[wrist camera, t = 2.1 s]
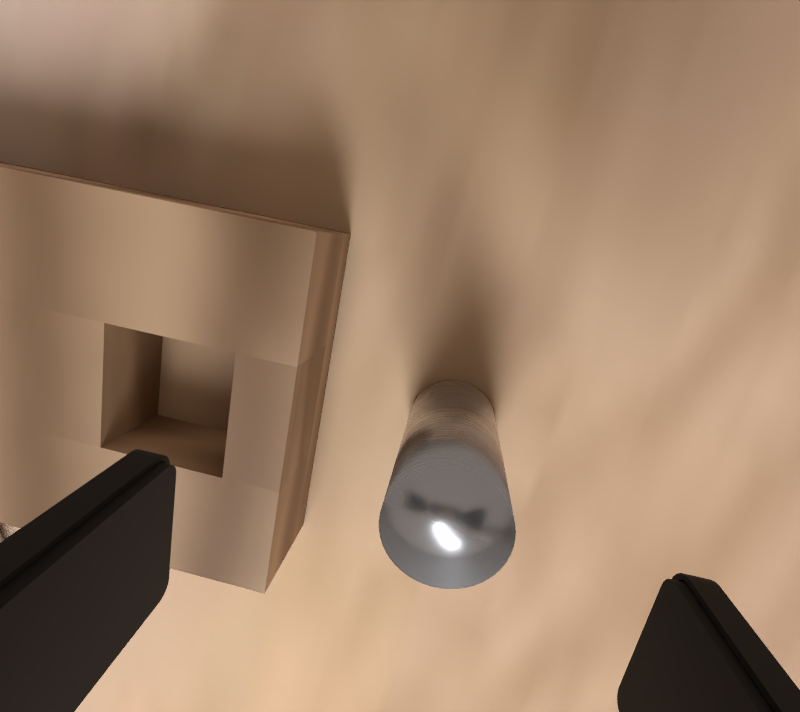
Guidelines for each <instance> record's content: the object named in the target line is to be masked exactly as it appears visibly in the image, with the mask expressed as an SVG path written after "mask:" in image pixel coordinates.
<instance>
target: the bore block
mask: <svg viewBox="0 0 800 712" xmlns="http://www.w3.org/2000/svg"><path fill="white" fill-rule="evenodd" d="M349 240H350V234H348V233H343V232H338V231H333V230H328V229H323V228H318V227H314V226H309V225H304V224H299V223H294V222H289V221H284V220H280V219H275V218H270V217H265V216H260V215H255V214H250V213H245V212H241V211H236V210H231V209H226V208H221V207H216V206H211V205H206V204H202V203H197V202H192V201H187V200H182V199H177V198H172V197H168V196H163V195H158V194H153V193H148V192H143V191H138V190H133V189H129V188H124V187H119V186H114V185H109V184H104V183H99V182H95V181H90V180H85V179H80V178H75V177H70V176H65V175H60V174H56V173H51V172H46V171H41V170H36V169H31V168H26V167H21V166H17V165H12V164H7V163H2V162H0V523H4V524H8V525H12V526H15V527H19V528H22V527H24V526H25V525H26V524H28V523H29V522H31V521H32V520H34V519H35V518H36V517H38V516H39V515H41V514H42V513H44V512H45V511H47V510H48V509H49V508H51V507H52V506H54V505H55V504H57V503H58V502H59V501H61V500H62V499H64V498H65V497H67V496H68V495H70V494H71V493H72V492H74V491H75V490H77V489H78V488H80V487H81V486H82V485H84V484H85V483H87V482H88V481H90V480H91V479H92V478H94V477H95V476H97V475H98V474H100V473H101V472H103V471H104V470H105V469H107V468H108V467H110V466H111V465H113V464H114V463H115V462H117V461H118V460H120V459H121V458H123V457H124V456H126V455H127V454H128V453H130V452H131V451H133V450H135V449H139V450H144V451H148V452H153V453H157V454H161V455H166V456H167V457H168V458H169V461H170V465H174V466H175V468H176V486H175V500H174V514H173V528H172V541H171V555H170V568H172V569H175V570H179V571H183V572H186V573H190V574H194V575H198V576H201V577H205V578H209V579H213V580H216V581H220V582H224V583H227V584H231V585H235V586H239V587H242V588H246V589H250V590H253V591H257V592H261V593H265V592H266V590H267V588H268V586H269V585H270V583H271V581H272V579H273V577H274V576H275V574H276V572H277V570H278V569H279V567H280V565H281V563H282V561H283V560H284V558H285V556H286V554H287V553H288V551H289V549H290V547H291V545H292V544H293V542H294V540H295V538H296V536H297V535H298V533H299V531H300V529H301V528H302V526H303V523H304V516H305V510H306V504H307V498H308V492H309V486H310V480H311V473H312V467H313V461H314V455H315V449H316V443H317V437H318V431H319V424H320V418H321V412H322V406H323V400H324V394H325V388H326V381H327V375H328V369H329V363H330V357H331V351H332V345H333V338H334V332H335V326H336V320H337V314H338V308H339V302H340V296H341V289H342V283H343V277H344V271H345V265H346V259H347V253H348V246H349Z"/></svg>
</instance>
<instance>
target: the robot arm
mask: <svg viewBox="0 0 800 712" xmlns="http://www.w3.org/2000/svg"><path fill="white" fill-rule="evenodd" d="M175 486H176V468H175V466H174V465H170V461H169V458H168V457H167V456H166V455H161V454H157V453H153V452H148V451H144V450H139V449H135V450H133V451H131V452H130V453H128V454H127V455H126V456H124V457H123V458H121V459H120V460H118V461H117V462H115V463H114V464H113V465H111V466H110V467H108V468H107V469H105V470H104V471H103V472H101V473H100V474H98V475H97V476H95V477H94V478H92V479H91V480H90V481H88V482H87V483H85V484H84V485H82V486H81V487H80V488H78V489H77V490H75V491H74V492H72V493H71V494H70V495H68V496H67V497H65V498H64V499H62V500H61V501H59V502H58V503H57V504H55V505H54V506H52V507H51V508H49V509H48V510H47V511H45V512H44V513H42V514H41V515H39V516H38V517H36V518H35V519H34V520H32V521H31V522H29V523H28V524H26V525H25V526H24V527H22V528H21V529H19V530H18V531H16V532H15V533H13V534H12V535H11V536H9V537H8V538H6V539H5V540H3V541H2V542H1V543H0V712H74V711H75V710H76V709H77V707H78V706H79V705H80V703H81V702H82V701H83V700H84V698H85V697H86V696H87V694H88V693H89V692H90V691H91V689H92V688H93V687H94V685H95V684H96V683H97V682H98V680H99V679H100V678H101V676H102V675H103V674H104V673H105V671H106V670H107V669H108V667H109V666H110V665H111V664H112V662H113V661H114V660H115V658H116V657H117V656H118V655H119V653H120V652H121V651H122V649H123V648H124V647H125V646H126V644H127V643H128V642H129V640H130V639H131V638H132V637H133V635H134V634H135V633H136V631H137V630H138V629H139V628H140V626H141V625H142V624H143V622H144V621H145V620H146V618H147V617H148V616H149V615H150V613H151V612H152V611H153V609H154V608H155V607H156V606H157V604H158V603H159V602H160V600H161V599H162V597H163V595H164V593H165V591H166V588H167V585H168V581H169V569H170V555H171V541H172V528H173V514H174V500H175ZM617 701H618V709H619V712H800V690H799V689H798V687H797V686H796V685H795V683H794V682H793V681H792V680H791V678H790V677H789V676H788V674H787V673H786V672H785V670H784V669H783V668H782V667H781V665H780V664H779V663H778V661H777V660H776V659H775V658H774V656H773V655H772V654H771V652H770V651H769V650H768V648H767V647H766V646H765V645H764V643H763V642H762V641H761V639H760V638H759V637H758V635H757V634H756V633H755V632H754V630H753V629H752V628H751V626H750V625H749V624H748V622H747V621H746V620H745V619H744V617H743V616H742V615H741V613H740V612H739V611H738V609H737V608H736V607H735V606H734V604H733V603H732V602H731V600H730V599H729V598H728V596H727V595H726V594H725V593H724V591H723V590H722V589H721V587H720V586H719V585H718V584H717V583H716V582H714V581H712V580H709V579H705V578H700V577H696V576H691V575H687V574H683V573H679V574H676V575H675V576H673V578H672V579H666V580H665V581H664V582H663V584H662V586H661V588H660V590H659V593H658V595H657V597H656V600H655V602H654V605H653V607H652V609H651V612H650V614H649V617H648V619H647V621H646V624H645V626H644V629H643V631H642V633H641V636H640V638H639V641H638V643H637V645H636V648H635V650H634V653H633V655H632V657H631V660H630V662H629V664H628V667H627V669H626V672H625V674H624V676H623V679H622V681H621V684H620V686H619V689H618V696H617Z"/></svg>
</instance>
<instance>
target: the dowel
mask: <svg viewBox="0 0 800 712" xmlns="http://www.w3.org/2000/svg"><path fill="white" fill-rule="evenodd" d="M379 532H380V538H381V541H382V544H383V547H384V549H385V551H386V553H387V554H388V556H389V558H390V559H391V560H392V562H393V563H394V564H395V565H396V566H397V567H398V568H399V569H400V570H401V571H402V572H404V573H405V574H406V575H408V576H409V577H411V578H413V579H414V580H416V581H418V582H421V583H423V584H426V585H429V586H432V587H437V588H445V589H459V588H466V587H470V586H474V585H476V584H479V583H482V582H483V581H485V580H487V579H489V578H490V577H492V576H493V575H495V574H496V573H497V572H498V571H499V570H500V569H501V568H502V567H503V566H504V564H505V563H506V562H507V560H508V558H509V557H510V555H511V552H512V550H513V547H514V542H515V533H516V531H515V522H514V516H513V511H512V506H511V500H510V495H509V490H508V484H507V479H506V474H505V468H504V463H503V458H502V452H501V447H500V442H499V436H498V431H497V426H496V420H495V415H494V411H493V408H492V405H491V403H490V402H489V400H488V399H487V397H486V396H485V395H484V394H483V393H482V392H481V391H480V390H479V389H477V388H476V387H474V386H472V385H470V384H468V383H465V382H462V381H454V380H449V381H442V382H438V383H435V384H433V385H431V386H429V387H427V388H426V389H425V390H423V391H422V392H421V393H420V394H419V396H418V397H417V398H416V400H415V401H414V403H413V406H412V409H411V412H410V415H409V419H408V422H407V425H406V429H405V432H404V435H403V439H402V442H401V445H400V449H399V452H398V455H397V459H396V462H395V465H394V469H393V472H392V475H391V479H390V482H389V485H388V489H387V492H386V495H385V499H384V502H383V505H382V509H381V512H380V517H379Z"/></svg>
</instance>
